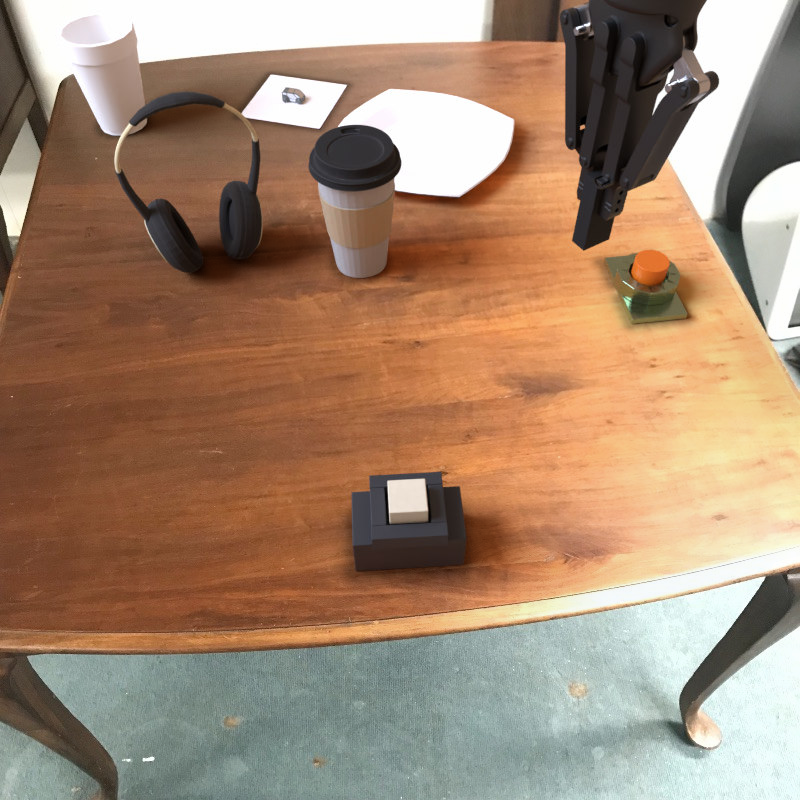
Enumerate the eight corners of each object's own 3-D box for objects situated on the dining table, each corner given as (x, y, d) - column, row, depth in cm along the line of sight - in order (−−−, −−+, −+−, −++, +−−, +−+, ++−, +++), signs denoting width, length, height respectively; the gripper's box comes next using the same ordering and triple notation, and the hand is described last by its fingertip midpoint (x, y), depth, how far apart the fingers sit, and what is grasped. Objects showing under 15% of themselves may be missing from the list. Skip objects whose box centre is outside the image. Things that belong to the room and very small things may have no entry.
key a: (425, 490, 62) (425, 478, 61) (427, 522, 61) (428, 510, 59) (387, 492, 62) (387, 480, 61) (389, 524, 60) (389, 513, 59)
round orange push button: (669, 284, 83) (674, 270, 81) (637, 288, 82) (641, 273, 81) (658, 262, 85) (663, 248, 83) (626, 265, 85) (630, 251, 83)
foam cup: (92, 108, 110) (60, 15, 100) (159, 102, 111) (133, 9, 101) (87, 145, 104) (52, 50, 94) (156, 138, 105) (130, 43, 95)
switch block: (688, 318, 82) (695, 301, 80) (629, 324, 82) (634, 307, 80) (656, 257, 89) (662, 239, 87) (601, 262, 88) (605, 245, 86)
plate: (533, 127, 106) (535, 114, 104) (467, 224, 93) (468, 210, 91) (383, 90, 112) (382, 77, 111) (301, 175, 99) (300, 162, 98)
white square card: (319, 128, 106) (318, 118, 105) (238, 116, 108) (236, 106, 107) (347, 85, 113) (346, 75, 112) (271, 74, 116) (269, 64, 114)
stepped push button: (456, 508, 68) (460, 470, 63) (464, 570, 64) (468, 534, 59) (354, 514, 67) (350, 476, 63) (355, 576, 64) (351, 540, 59)
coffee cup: (370, 225, 93) (364, 110, 81) (419, 266, 88) (420, 150, 76) (304, 257, 89) (288, 141, 77) (351, 302, 84) (342, 186, 73)
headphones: (286, 263, 88) (260, 100, 73) (157, 298, 85) (101, 135, 70) (266, 220, 94) (237, 59, 78) (143, 251, 90) (88, 89, 75)
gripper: (796, -54, 43) (680, 268, 61) (635, -123, 50) (575, 185, 68) (697, -23, 41) (608, 303, 59) (543, -100, 48) (506, 213, 66)
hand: (590, 239), depth 64 cm, fingers closed
